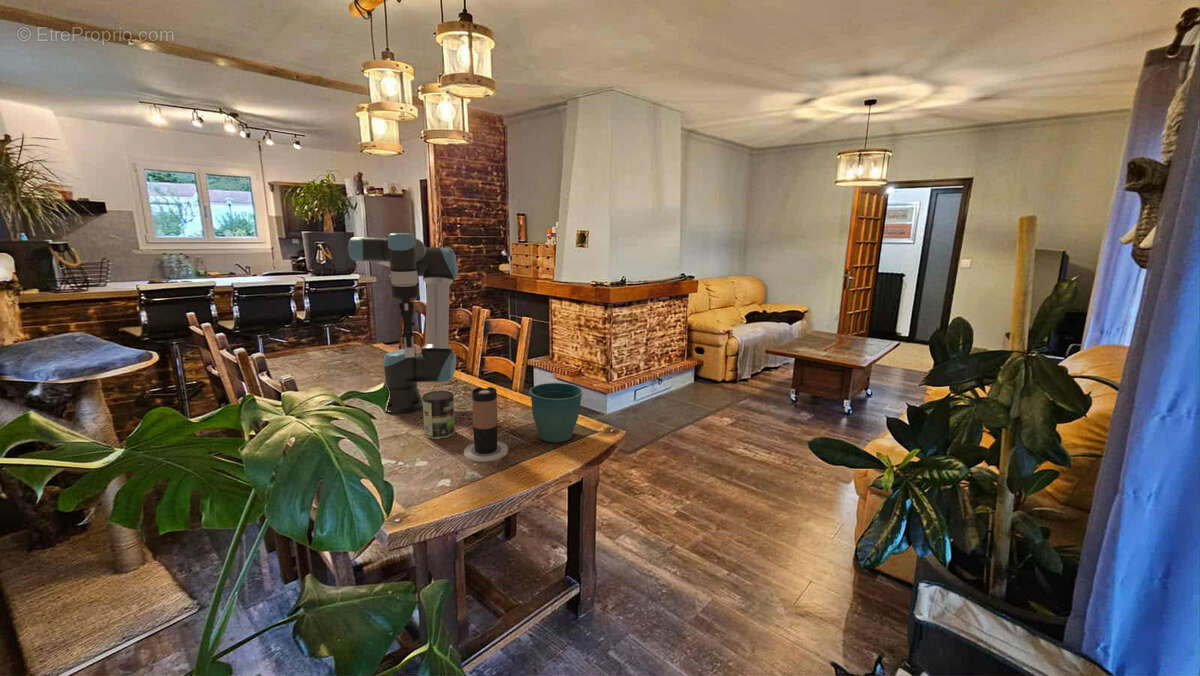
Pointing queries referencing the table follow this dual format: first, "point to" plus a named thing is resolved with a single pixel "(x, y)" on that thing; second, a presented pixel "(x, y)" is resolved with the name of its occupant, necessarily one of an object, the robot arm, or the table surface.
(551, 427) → the flower pot
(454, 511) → the table surface
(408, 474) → the table surface
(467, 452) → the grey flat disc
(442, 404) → the coffee can
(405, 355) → the robot arm
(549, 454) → the table surface
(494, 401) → the travel mug
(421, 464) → the table surface
